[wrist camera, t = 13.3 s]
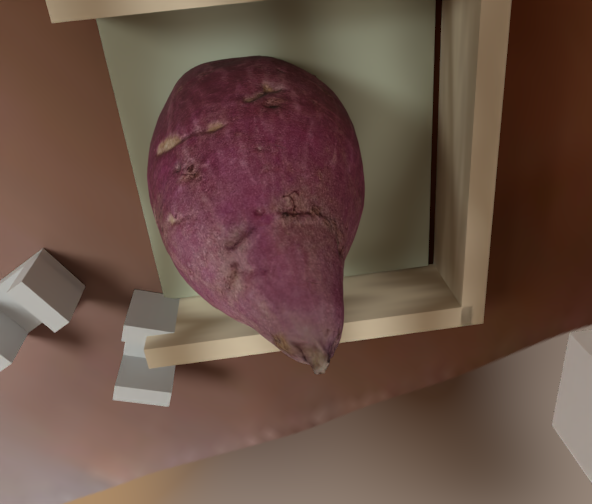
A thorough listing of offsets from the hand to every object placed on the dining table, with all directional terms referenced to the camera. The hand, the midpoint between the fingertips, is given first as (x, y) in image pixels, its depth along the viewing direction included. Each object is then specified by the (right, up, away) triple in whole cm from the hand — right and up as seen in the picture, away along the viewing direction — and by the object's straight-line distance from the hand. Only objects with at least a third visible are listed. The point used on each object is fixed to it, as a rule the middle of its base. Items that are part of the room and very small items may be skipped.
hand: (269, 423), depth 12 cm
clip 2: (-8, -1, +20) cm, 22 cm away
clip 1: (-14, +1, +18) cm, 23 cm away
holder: (0, +9, +16) cm, 18 cm away
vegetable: (-2, +8, +16) cm, 18 cm away
